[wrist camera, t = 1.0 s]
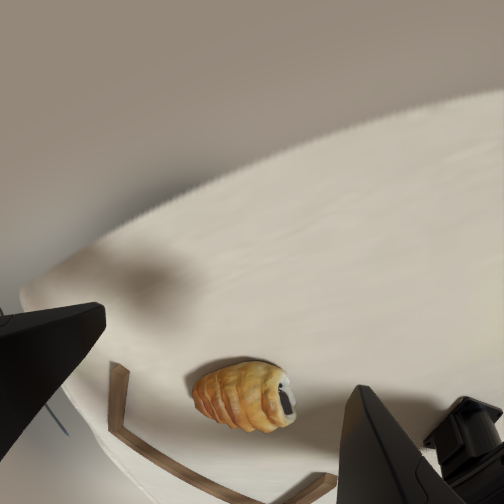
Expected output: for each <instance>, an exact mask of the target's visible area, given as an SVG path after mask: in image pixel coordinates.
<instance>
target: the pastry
mask: <svg viewBox="0 0 504 504" xmlns="http://www.w3.org/2000/svg"><path fill="white" fill-rule="evenodd" d="M289 385H290V379H289V377H288V374H287V373H286V372H285V371H284V370H282V369H281V368H278V367H276V366H273V365H270V364H268V363H265V362H260V361H253V362H242V363H239V364H234V365H232V366H228V367H225V368H222V369H220V370H217V371H214V372H212V373H209V374H207V375H204V376H203V377H202V378H201V379H200V380H198V381H197V382H196V383H195V385H194V387H193V390H192V396H193V399H194V402H195V408H196V409H197V410H198V411H200V412H201V413H202V414H203V415H205V416H206V417H208V418H211V419H213V420H215V421H216V422H217V423H224V424H227V425H228V426H229V427H230V428H232V429H235V428H241V429H243V430H244V431H245V432H252V431H254V430H256V429H257V430H260V431H262V432H264V433H269V432H272V431H274V430H275V429H276V428H278V427H282V428H284V427H285V426H287V425H290V424H291V423H293V422H294V421H295V419H296V417H297V413H296V410H295V404H296V399H295V396H294V394H293V392H292V390H291V389H290V387H289Z"/></svg>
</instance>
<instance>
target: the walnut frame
mask: <svg viewBox="0 0 504 504" xmlns="http://www.w3.org/2000/svg"><path fill="white" fill-rule="evenodd" d="M129 374H130V371H128V370H127V369H126V368H124V367H123V366H122V365H120V364H119V365H118V366H116V367H115V368H114V369H112V370H111V381H110V396H109V420H108V431H109V432H110V433H112V434H113V435H114V436H115V437H117V438H118V439H119V440H121V441H122V442H123V443H125V444H126V445H128V446H129V447H130V448H132V449H133V450H135V451H136V452H138V453H139V454H141V455H142V456H143V457H145V458H146V459H148V460H150V461H151V462H153V463H154V464H156V465H157V466H159V467H161V468H162V469H164V470H166V471H167V472H169V473H171V474H172V475H174V476H176V477H178V478H179V479H181V480H183V481H185V482H187V483H188V484H190V485H192V486H194V487H196V488H198V489H200V490H202V491H204V492H206V493H208V494H210V495H212V496H214V497H216V498H219V499H221V500H223V501H225V502H228V503H230V504H264V503H261V502H259V501H256V500H254V499H251V498H249V497H246V496H244V495H241V494H239V493H237V492H234V491H232V490H230V489H228V488H225V487H223V486H221V485H219V484H217V483H215V482H213V481H211V480H209V479H207V478H205V477H203V476H201V475H199V474H197V473H195V472H193V471H191V470H190V469H188V468H186V467H184V466H182V465H181V464H179V463H177V462H176V461H174V460H172V459H170V458H169V457H167V456H166V455H164V454H162V453H161V452H159V451H158V450H156V449H154V448H153V447H151V446H150V445H148V444H147V443H145V442H144V441H142V440H141V439H139V438H138V437H137V436H135V435H134V434H132V433H131V432H130V431H128V430H127V429H125V428H124V427H123V420H124V411H125V403H126V395H127V387H128V380H129ZM337 478H338V476H335V475H332V474H329V473H325V474H324V475H323V476H321V477H320V478H319V479H318V480H316V481H315V482H314V483H312V484H311V485H310V486H308V487H307V488H306V489H304V490H303V491H302V492H300V493H299V494H297V495H296V496H294V497H293V498H292V499H290V500H289V501H287V502H286V503H284V504H311V503H312V502H314V501H315V500H317V499H319V498H320V497H322V496H323V495H325V494H326V493H328V492H329V491H330V490H332V489H333V488H335V487H336V485H337Z"/></svg>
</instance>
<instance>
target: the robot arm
mask: <svg viewBox="0 0 504 504" xmlns="http://www.w3.org/2000/svg"><path fill="white" fill-rule="evenodd" d="M105 328H106V313H105V307H104V306H103V305H101V304H99V303H97V302H91V303H84V304H78V305H72V306H66V307H59V308H53V309H46V310H40V311H33V312H26V313H19V314H15V315H14V314H12V315H5V316H0V462H1V460H2V459H3V457H4V456H5V455H6V453H7V452H8V451H9V449H10V448H11V447H12V445H13V444H14V443H15V442H16V440H17V439H18V438H19V436H20V435H21V434H22V432H23V430H25V428H26V427H27V426H28V424H29V423H30V422H31V421H32V420H33V418H34V417H35V416H36V415H37V413H38V412H39V411H40V410H41V409H42V407H43V406H44V405H45V404H46V403H47V401H48V400H49V399H50V398H51V397H52V395H53V394H54V393H55V391H57V389H58V388H59V387H60V386H61V385H62V384H63V382H64V381H65V380H66V379H67V378H68V377H69V375H70V374H71V373H72V372H73V371H74V370H75V368H76V367H77V366H78V365H79V364H80V363H81V362H82V360H83V359H84V358H85V357H86V355H87V354H88V353H89V351H90V350H91V348H92V347H93V346H94V344H95V343H96V341H97V340H98V339H99V337H100V336H101V335H102V333H103V332H104V330H105ZM466 402H467V403H466ZM502 414H503V411H502V409H500V408H497V407H494V406H492V405H489V404H486V403H483V402H481V401H478V400H475V399H473V398H470V397H466V398H464V399H463V400H462V401H461V402H460V404H459V405H458V406H457V407H456V408H455V409H454V410H453V412H452V413H451V414H450V415H449V416H448V417H447V418H446V419H445V420H444V421H443V422H442V423H441V424H440V425H439V426H438V427H437V428H436V429H435V430H434V431H433V432H432V433H431V434H430V435H429V436H428V437H427V438H426V439H425V440H424V441H423V444H424V447H427V448H431V449H435V450H436V454H437V459H438V464H439V465H440V467H441V473H442V478H441V477H440V476H439V474H438V473H437V472H436V471H435V470H434V468H433V467H432V466H431V465H430V464H429V462H428V461H427V460H426V458H425V457H424V456H422V453H421V452H420V451H419V449H418V448H417V447H416V446H415V444H414V443H413V442H412V440H411V439H410V438H409V436H408V435H407V434H406V433H405V431H404V430H403V429H402V427H401V426H400V425H399V424H398V422H397V421H396V420H395V418H394V417H393V416H392V415H391V413H390V412H389V411H388V409H387V408H386V407H385V406H384V404H383V403H382V402H381V400H380V399H379V398H378V397H377V395H376V394H375V393H374V392H373V390H372V389H371V388H370V387H369V386H365V385H357V386H356V387H355V389H354V390H353V392H352V394H351V396H350V398H349V399H348V401H347V404H346V407H345V415H344V422H343V429H342V435H341V442H340V454H339V475H338V490H337V502H336V504H504V442H501V439H500V437H499V434H498V432H497V429H496V427H495V425H494V424H495V422H496V421H497V420H498V419H499V418H500V417H501V416H502Z"/></svg>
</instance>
